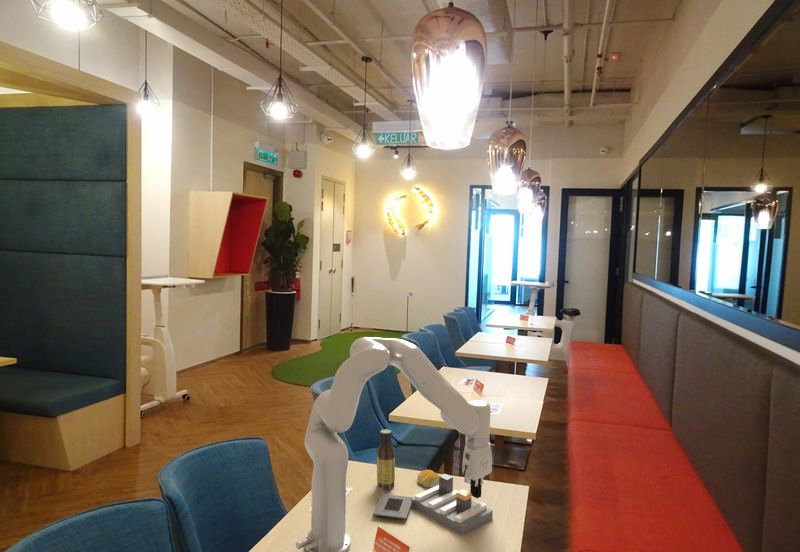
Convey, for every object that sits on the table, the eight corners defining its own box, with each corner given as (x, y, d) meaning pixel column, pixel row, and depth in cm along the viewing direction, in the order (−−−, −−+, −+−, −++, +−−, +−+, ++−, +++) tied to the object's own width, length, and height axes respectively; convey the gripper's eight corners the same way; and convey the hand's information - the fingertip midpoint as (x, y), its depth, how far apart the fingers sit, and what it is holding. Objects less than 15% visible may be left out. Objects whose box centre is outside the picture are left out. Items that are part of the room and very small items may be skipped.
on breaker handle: (446, 496, 173) (447, 479, 172) (438, 492, 175) (439, 476, 175) (452, 493, 175) (453, 477, 174) (444, 489, 177) (445, 473, 177)
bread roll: (430, 475, 195) (431, 464, 194) (445, 485, 187) (446, 474, 187) (412, 480, 190) (412, 469, 190) (426, 490, 183) (427, 479, 182)
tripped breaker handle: (464, 513, 162) (465, 496, 162) (456, 509, 165) (456, 492, 164) (470, 510, 164) (471, 493, 164) (462, 505, 167) (462, 489, 166)
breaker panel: (463, 534, 155) (464, 522, 155) (411, 506, 171) (411, 494, 171) (492, 518, 165) (492, 506, 165) (440, 492, 181) (440, 481, 181)
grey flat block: (405, 524, 161) (406, 516, 161) (372, 520, 163) (372, 512, 163) (413, 503, 174) (413, 496, 174) (382, 499, 176) (382, 492, 176)
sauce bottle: (385, 480, 190) (386, 426, 188) (398, 485, 185) (399, 430, 184) (372, 486, 185) (373, 430, 183) (386, 492, 181) (387, 435, 179)
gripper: (471, 449, 159) (470, 508, 160) (501, 437, 169) (499, 493, 171) (452, 442, 165) (451, 499, 166) (482, 431, 175) (480, 484, 176)
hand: (475, 496), depth 168 cm, fingers closed
